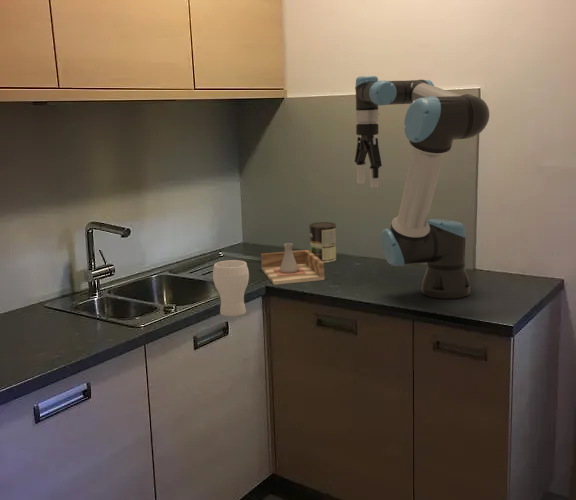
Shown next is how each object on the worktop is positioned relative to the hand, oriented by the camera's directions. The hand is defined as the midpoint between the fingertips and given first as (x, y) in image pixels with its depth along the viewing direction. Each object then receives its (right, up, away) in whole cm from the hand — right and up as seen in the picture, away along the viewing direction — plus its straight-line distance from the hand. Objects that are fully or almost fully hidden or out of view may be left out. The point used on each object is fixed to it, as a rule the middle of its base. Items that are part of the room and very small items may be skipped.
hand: (367, 185), depth 229 cm
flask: (-27, -30, +9) cm, 42 cm away
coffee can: (-14, -26, +31) cm, 43 cm away
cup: (-44, -41, -31) cm, 68 cm away
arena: (-26, -31, +10) cm, 42 cm away
